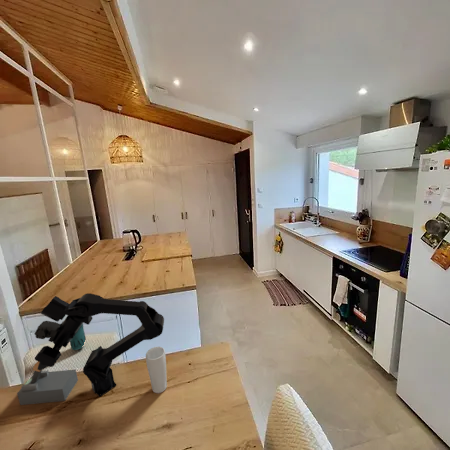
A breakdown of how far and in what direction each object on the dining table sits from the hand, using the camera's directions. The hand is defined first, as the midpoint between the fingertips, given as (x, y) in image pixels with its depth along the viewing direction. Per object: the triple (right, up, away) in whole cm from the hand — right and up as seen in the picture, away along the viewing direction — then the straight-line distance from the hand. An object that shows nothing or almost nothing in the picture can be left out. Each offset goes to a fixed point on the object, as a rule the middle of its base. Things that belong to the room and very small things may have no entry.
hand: (46, 359), depth 89 cm
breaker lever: (-6, -9, +3) cm, 11 cm away
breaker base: (-2, -15, +4) cm, 15 cm away
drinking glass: (+39, -13, +4) cm, 41 cm away
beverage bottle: (-5, -10, +28) cm, 30 cm away
